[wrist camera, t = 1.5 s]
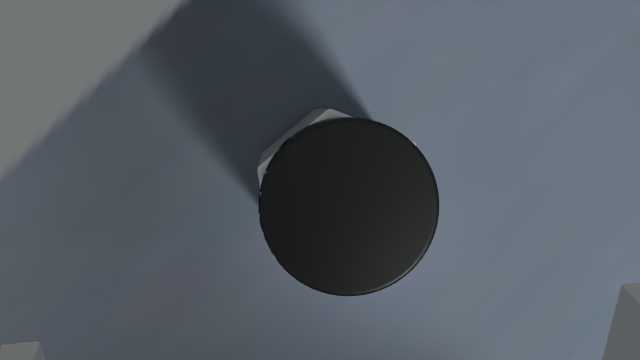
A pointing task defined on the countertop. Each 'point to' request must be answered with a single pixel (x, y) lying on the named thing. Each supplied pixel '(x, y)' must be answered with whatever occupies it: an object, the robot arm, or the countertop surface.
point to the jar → (346, 203)
